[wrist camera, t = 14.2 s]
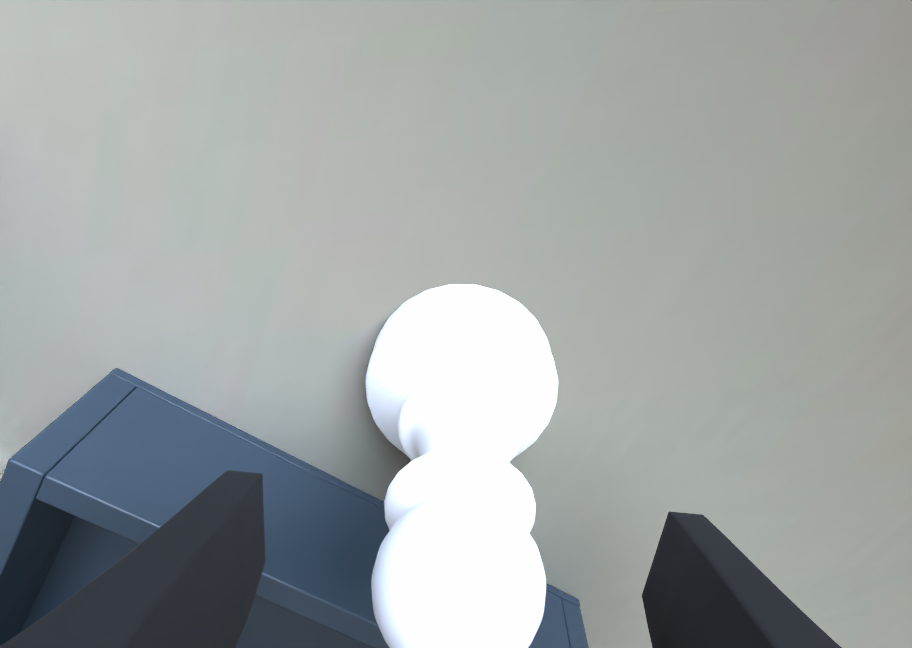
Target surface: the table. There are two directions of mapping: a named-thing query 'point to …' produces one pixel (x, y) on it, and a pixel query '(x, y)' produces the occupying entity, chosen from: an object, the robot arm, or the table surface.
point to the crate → (170, 489)
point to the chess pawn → (460, 469)
